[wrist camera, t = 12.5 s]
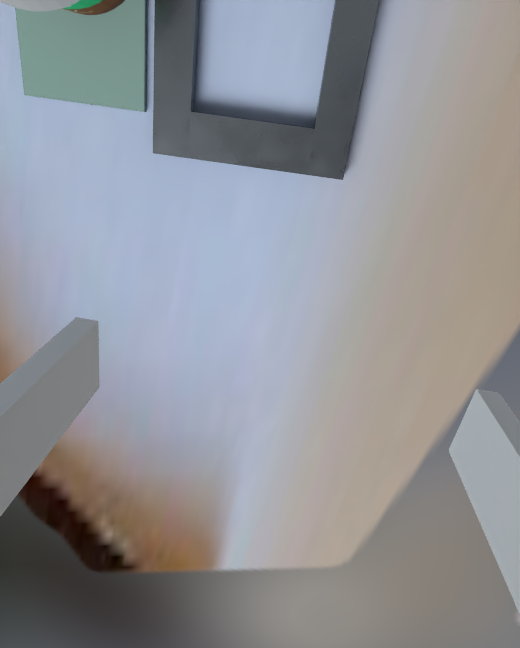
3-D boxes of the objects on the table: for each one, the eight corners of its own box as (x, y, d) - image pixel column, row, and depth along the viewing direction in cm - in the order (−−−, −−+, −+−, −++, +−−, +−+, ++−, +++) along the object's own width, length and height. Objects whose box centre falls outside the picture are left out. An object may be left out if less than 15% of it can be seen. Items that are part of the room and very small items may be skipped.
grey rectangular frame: (413, -185, 27) (418, -197, 26) (341, 177, 37) (342, 179, 36) (163, -218, 27) (157, -232, 26) (157, 152, 37) (152, 153, 36)
